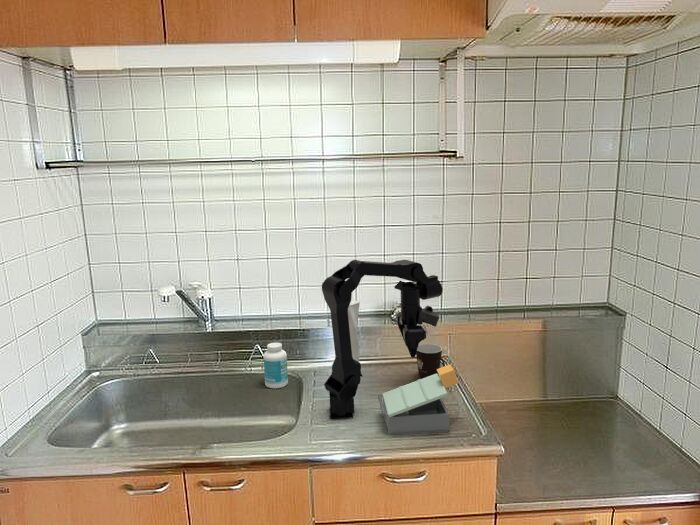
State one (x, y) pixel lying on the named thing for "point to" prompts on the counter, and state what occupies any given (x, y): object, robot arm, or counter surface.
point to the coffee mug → (428, 359)
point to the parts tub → (418, 419)
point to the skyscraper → (354, 328)
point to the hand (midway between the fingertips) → (410, 351)
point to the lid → (420, 391)
